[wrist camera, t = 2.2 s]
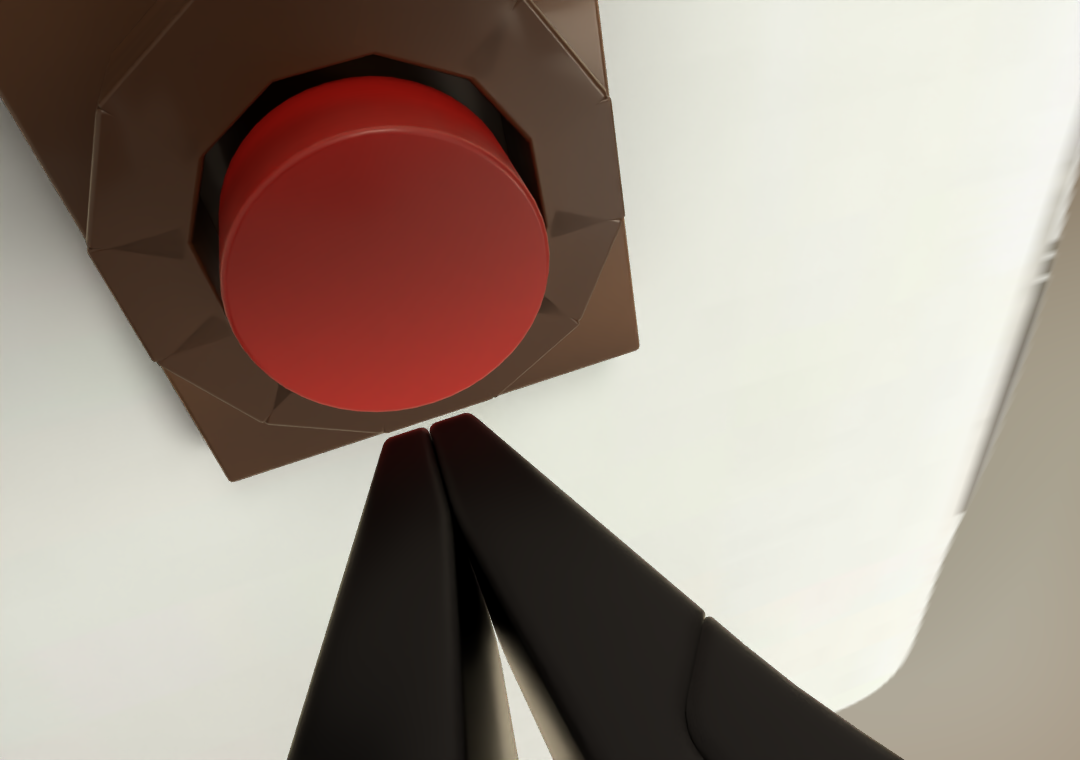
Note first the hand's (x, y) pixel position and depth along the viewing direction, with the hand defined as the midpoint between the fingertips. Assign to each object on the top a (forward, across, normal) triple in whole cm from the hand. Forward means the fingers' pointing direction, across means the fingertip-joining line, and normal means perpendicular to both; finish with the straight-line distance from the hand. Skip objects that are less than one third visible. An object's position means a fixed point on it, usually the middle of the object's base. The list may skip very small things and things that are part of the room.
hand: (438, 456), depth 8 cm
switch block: (+7, 0, 0) cm, 7 cm away
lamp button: (+5, 0, 0) cm, 5 cm away
